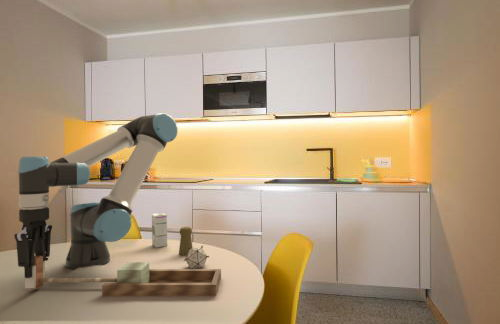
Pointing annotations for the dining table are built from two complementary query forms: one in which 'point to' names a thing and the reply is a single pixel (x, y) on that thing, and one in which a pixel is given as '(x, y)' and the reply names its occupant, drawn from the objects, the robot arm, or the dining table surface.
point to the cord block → (125, 274)
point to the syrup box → (159, 229)
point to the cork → (185, 240)
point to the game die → (196, 258)
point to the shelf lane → (170, 284)
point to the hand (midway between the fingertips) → (35, 285)
